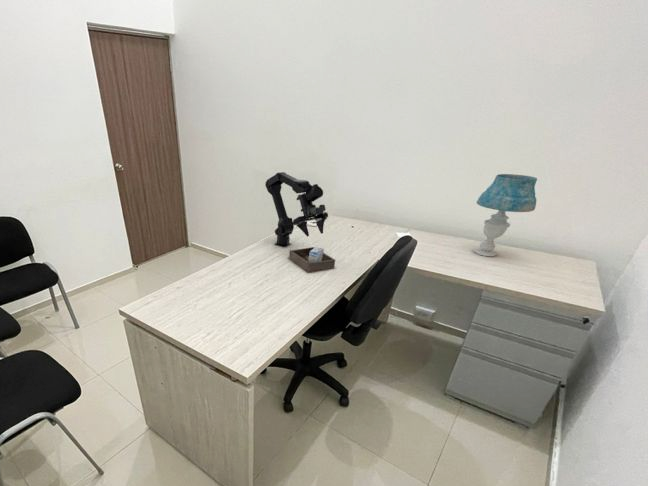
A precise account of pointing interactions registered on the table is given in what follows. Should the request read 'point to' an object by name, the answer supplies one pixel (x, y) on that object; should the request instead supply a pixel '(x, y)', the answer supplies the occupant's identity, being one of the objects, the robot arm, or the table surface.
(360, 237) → the table surface
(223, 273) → the table surface
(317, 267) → the crate
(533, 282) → the table surface
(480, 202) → the table lamp
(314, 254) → the medicine box
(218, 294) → the table surface
